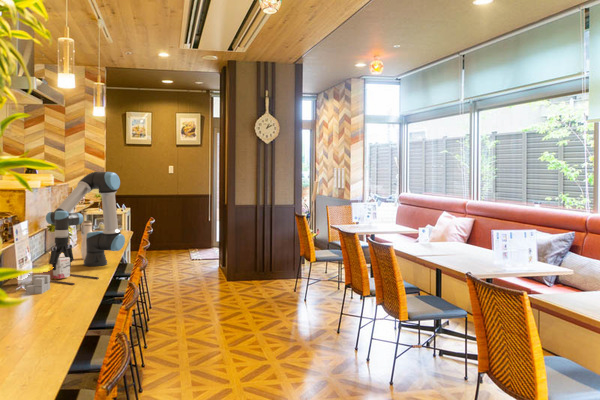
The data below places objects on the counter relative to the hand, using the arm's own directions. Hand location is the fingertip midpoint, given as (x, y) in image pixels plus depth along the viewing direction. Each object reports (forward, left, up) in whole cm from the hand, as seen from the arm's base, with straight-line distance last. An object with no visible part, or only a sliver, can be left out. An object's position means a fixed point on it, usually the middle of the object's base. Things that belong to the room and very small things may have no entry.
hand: (61, 274), depth 317 cm
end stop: (0, -5, -3) cm, 6 cm away
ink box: (0, 0, -2) cm, 2 cm away
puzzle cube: (+30, +12, -3) cm, 33 cm away
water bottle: (-61, -39, -3) cm, 73 cm away
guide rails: (0, +7, -3) cm, 7 cm away
